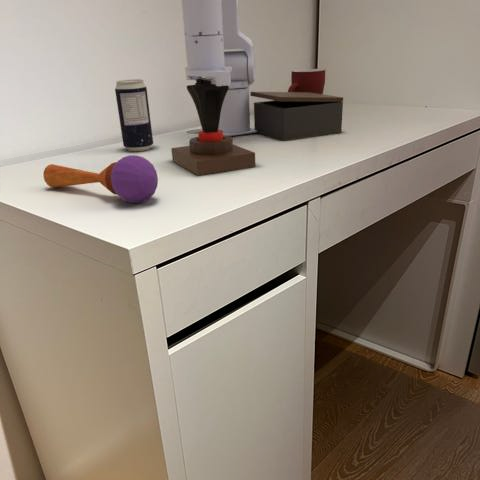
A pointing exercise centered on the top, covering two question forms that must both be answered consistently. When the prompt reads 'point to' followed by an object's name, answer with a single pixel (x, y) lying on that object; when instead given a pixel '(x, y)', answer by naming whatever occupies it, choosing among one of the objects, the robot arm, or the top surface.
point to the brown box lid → (297, 97)
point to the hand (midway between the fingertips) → (210, 131)
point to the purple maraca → (111, 178)
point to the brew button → (210, 136)
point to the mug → (308, 81)
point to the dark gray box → (297, 119)
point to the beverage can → (134, 114)
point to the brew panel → (212, 156)
